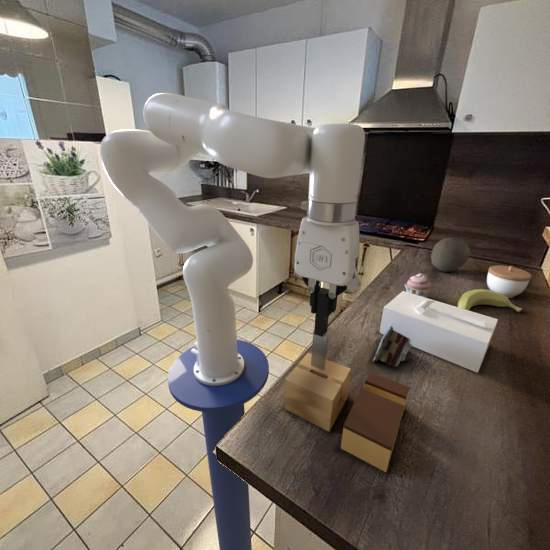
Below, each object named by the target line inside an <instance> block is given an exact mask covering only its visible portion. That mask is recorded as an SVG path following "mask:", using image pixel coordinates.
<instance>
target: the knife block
mask: <svg viewBox="0 0 550 550" xmlns="http://www.w3.org/2000/svg"><path fill="white" fill-rule="evenodd" d="M311 356H312V352H307V353H306V354H305V355H304V356H303V358H302V359H301V360H300V361H299V362H298V363H297V365H296V366H295V367H294V368H293V370H292V371H291V372H290V373H289V374H288V375H287V376H286V378H285V379H284V381H285V382H284V410H286V411H288V412H290V413H291V414H294V415H295V416H298V417H299V418H301V419H304V421H307V422H309V423H311V424H313V425H315V426H317V427H319V428H321V429H323V430H325V431H327V432H331V429H332V428H333V426H334V424H335V422H336V421H337V418H338V417H339V414H340V413H341V411H342V409H343V407H344V405H345V403H346V401H347V399H348V396H349V388H350V381H351V374H352V368H350V367H348V366H345V365H342V364H339V363H338V362H335V361H332V360H329V359H327V358H326V364H325V371H323V370H321V369H318V368H316V367H314V366H311Z"/></svg>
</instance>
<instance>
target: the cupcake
mask: <svg viewBox="0 0 550 550" xmlns="http://www.w3.org/2000/svg"><path fill="white" fill-rule="evenodd" d="M431 284H432V283H431V281H430V280H429V278H428V276H426V274H424V273H422V272H420V273H417V274H416V275H412V276H410V277H409V279H408V280H407V281H406V283H404V284H403V285H404V287H405V292H408V293H412V294H415V295H418V296H422V297H425V298H428V297H429V294H430V293H431V292H432V291H433V290H434V287H432V285H431Z"/></svg>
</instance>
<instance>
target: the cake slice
mask: <svg viewBox="0 0 550 550" xmlns="http://www.w3.org/2000/svg"><path fill="white" fill-rule="evenodd" d="M363 389H365V390H367V391H369V392H372V393H374V394H377V395H379V396H382V397H384V398H387V399H389V400H391V401H394V402H396V403H399V404H401V405H404V408H403V412H402V416H401V419H402V418H403V414H404V411H405V408H406V403H407V400H408V395H409V390H410V386H409V385H405V384H403V383H399V382H398V381H394V380H392V379H389V378H386V377H383V376H381V375H379V374H375V373H373V372H370V371H369V372H368V374H367V376H366V378H365V380H364V386H363Z"/></svg>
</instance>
